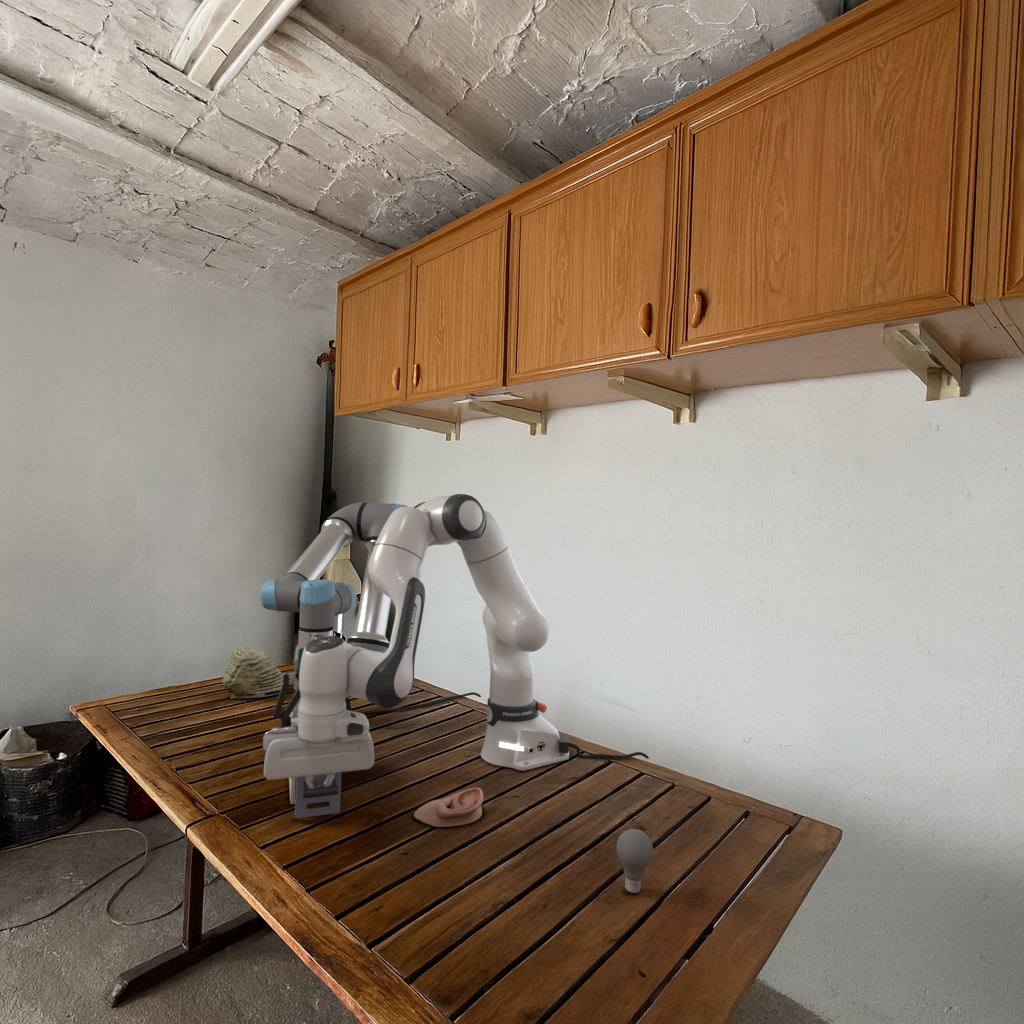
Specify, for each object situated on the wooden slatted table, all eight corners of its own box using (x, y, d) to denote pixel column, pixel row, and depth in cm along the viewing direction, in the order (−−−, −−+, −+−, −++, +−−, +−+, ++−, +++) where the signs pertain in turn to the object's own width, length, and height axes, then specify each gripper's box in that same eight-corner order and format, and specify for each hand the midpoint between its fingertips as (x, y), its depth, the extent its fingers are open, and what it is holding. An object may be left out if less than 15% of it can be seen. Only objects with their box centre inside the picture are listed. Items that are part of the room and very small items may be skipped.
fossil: (218, 695, 195) (220, 647, 195) (278, 685, 208) (279, 640, 207) (228, 703, 189) (230, 653, 188) (289, 692, 201) (290, 645, 201)
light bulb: (610, 879, 108) (613, 822, 108) (644, 879, 109) (647, 822, 109) (619, 902, 102) (622, 840, 102) (655, 901, 103) (658, 840, 103)
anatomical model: (408, 802, 124) (427, 778, 135) (407, 822, 124) (427, 796, 136) (473, 812, 122) (488, 786, 133) (473, 832, 122) (487, 805, 133)
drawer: (342, 826, 121) (344, 776, 120) (296, 833, 118) (298, 781, 117) (332, 775, 142) (333, 733, 142) (292, 780, 139) (294, 736, 139)
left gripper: (263, 654, 137) (259, 756, 138) (367, 649, 145) (363, 746, 146) (263, 646, 144) (259, 743, 145) (362, 642, 152) (359, 734, 153)
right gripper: (263, 734, 114) (260, 810, 114) (377, 724, 121) (374, 796, 122) (263, 722, 120) (260, 794, 120) (372, 713, 127) (369, 782, 128)
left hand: (311, 744), depth 145 cm, fingers closed on cabinet, 10 cm apart
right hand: (318, 795), depth 121 cm, fingers closed, pressing on drawer
